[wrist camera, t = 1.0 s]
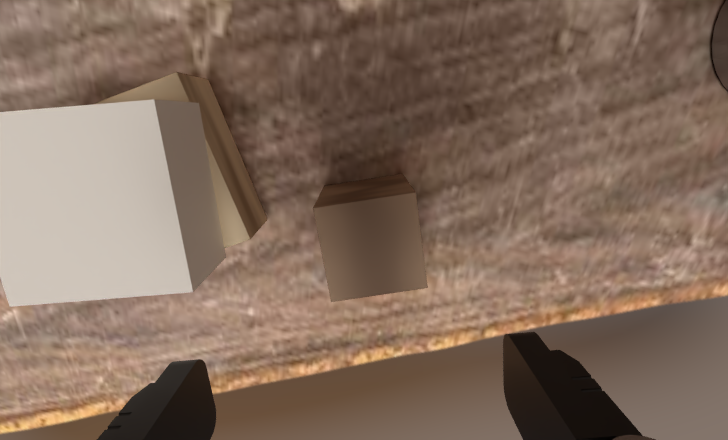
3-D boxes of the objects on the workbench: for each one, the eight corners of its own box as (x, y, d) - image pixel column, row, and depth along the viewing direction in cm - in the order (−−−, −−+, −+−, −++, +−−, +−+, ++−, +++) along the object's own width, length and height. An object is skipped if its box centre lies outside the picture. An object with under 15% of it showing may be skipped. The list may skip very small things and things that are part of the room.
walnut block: (402, 173, 28) (415, 192, 21) (412, 247, 29) (427, 287, 23) (324, 185, 28) (313, 208, 21) (337, 259, 30) (331, 302, 23)
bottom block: (209, 79, 27) (176, 72, 22) (268, 218, 29) (250, 239, 24) (74, 131, 27) (12, 134, 22) (142, 262, 30) (100, 290, 25)
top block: (198, 102, 22) (154, 99, 17) (226, 257, 24) (192, 292, 20) (36, 116, 22) (-53, 116, 17) (78, 268, 25) (9, 306, 20)
